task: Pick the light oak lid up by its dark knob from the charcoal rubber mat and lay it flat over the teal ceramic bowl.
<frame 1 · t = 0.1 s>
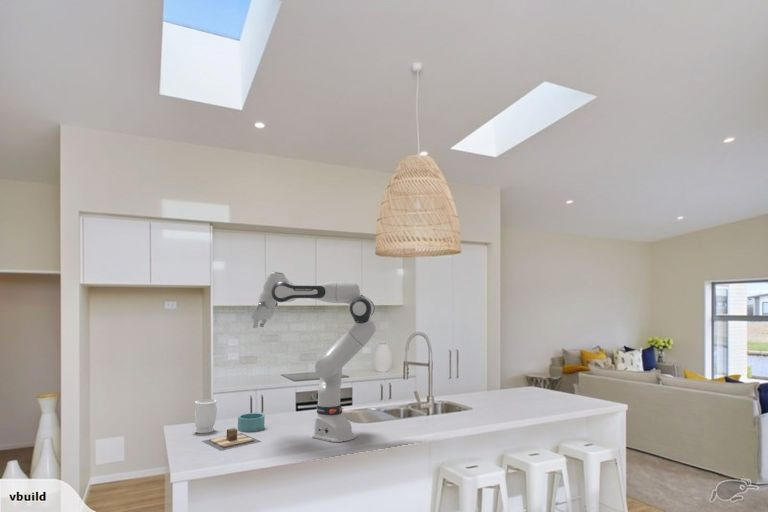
hand: (258, 327, 246), 52 cm above the counter, tool tilted 20°, fingers open, 8 cm apart
bowl: (251, 429, 247), on the counter
mat: (231, 442, 224), on the counter
lid: (231, 441, 224), resting on mat
jar: (204, 431, 242), on the counter
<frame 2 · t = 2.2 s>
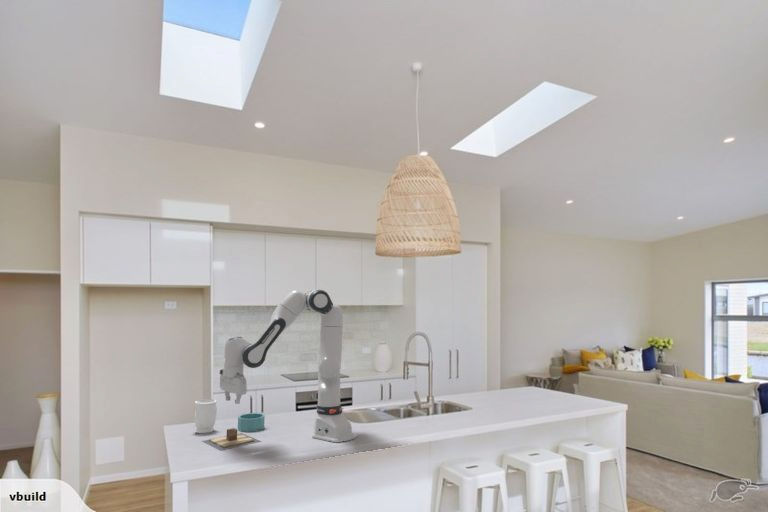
hand: (232, 402, 225), 18 cm above the counter, tool pointing down, fingers open, 8 cm apart
nothing on the counter moved.
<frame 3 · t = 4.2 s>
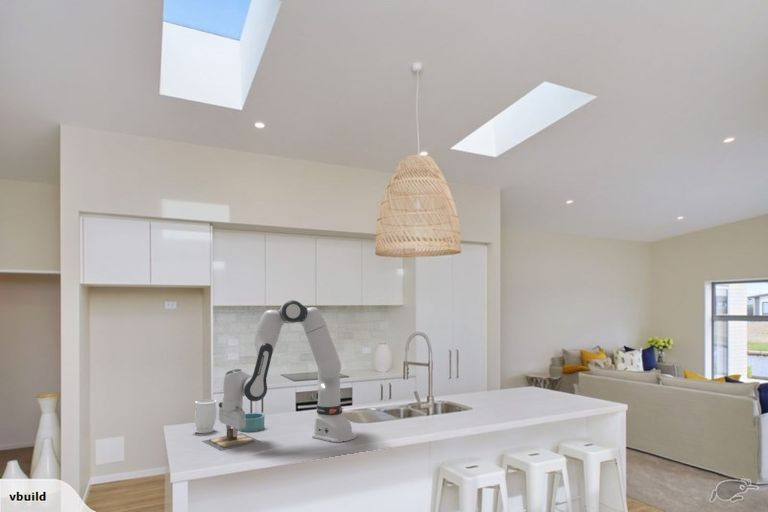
hand: (231, 435, 224), 3 cm above the counter, tool pointing down, fingers closed on lid, 3 cm apart
lid: (231, 441, 224), resting on mat, touching gripper
everything else where it was.
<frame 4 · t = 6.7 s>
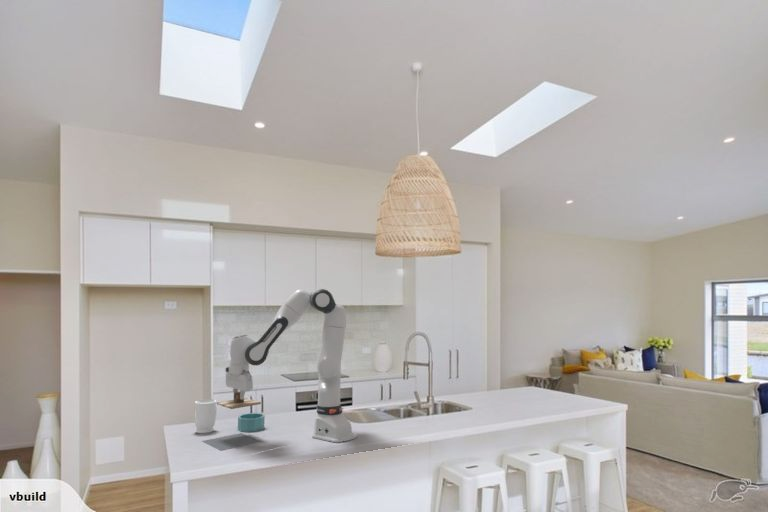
hand: (238, 398, 231), 19 cm above the counter, tool pointing down, fingers closed on lid, 3 cm apart
lid: (238, 404, 231), point 16 cm above the counter, touching gripper
everything else where it was.
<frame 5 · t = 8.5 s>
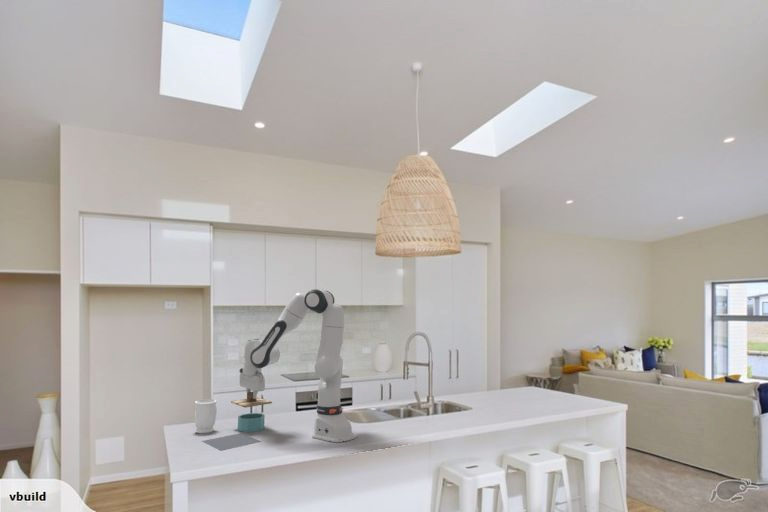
hand: (251, 397, 248), 16 cm above the counter, tool pointing down, fingers closed on lid, 3 cm apart
lid: (251, 403, 248), point 13 cm above the counter, touching gripper
everything else where it was.
when the fingers open (11 cm above the counter, at t = 9.6 s): lid drops 1 cm, resting on bowl.
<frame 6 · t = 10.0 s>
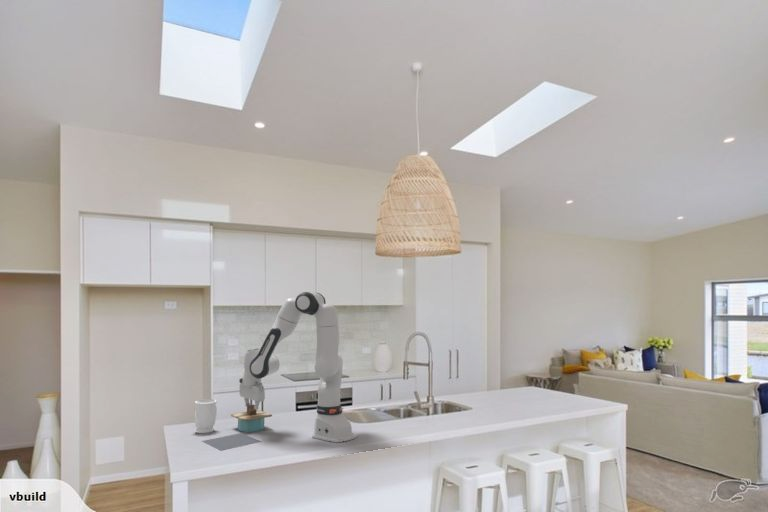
hand: (251, 407, 248), 11 cm above the counter, tool pointing down, fingers open, 7 cm apart
lid: (251, 416, 247), point 6 cm above the counter, touching bowl
everything else where it was.
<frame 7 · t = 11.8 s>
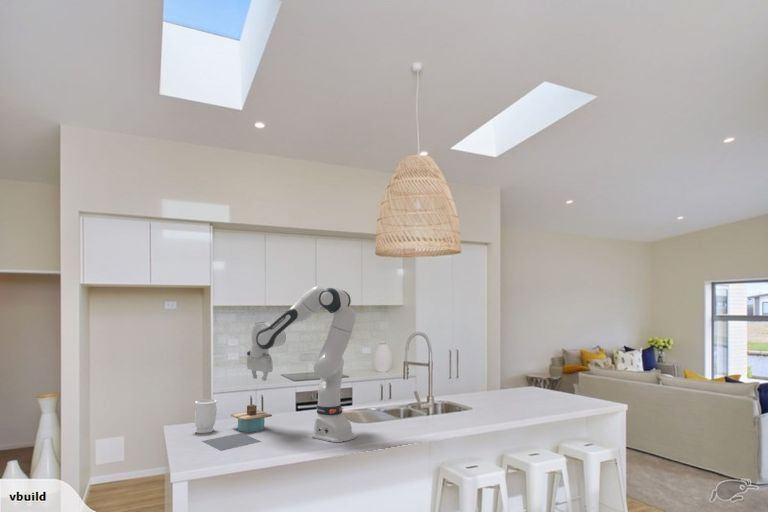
hand: (259, 379, 253), 24 cm above the counter, tool pointing down, fingers open, 8 cm apart
nothing on the counter moved.
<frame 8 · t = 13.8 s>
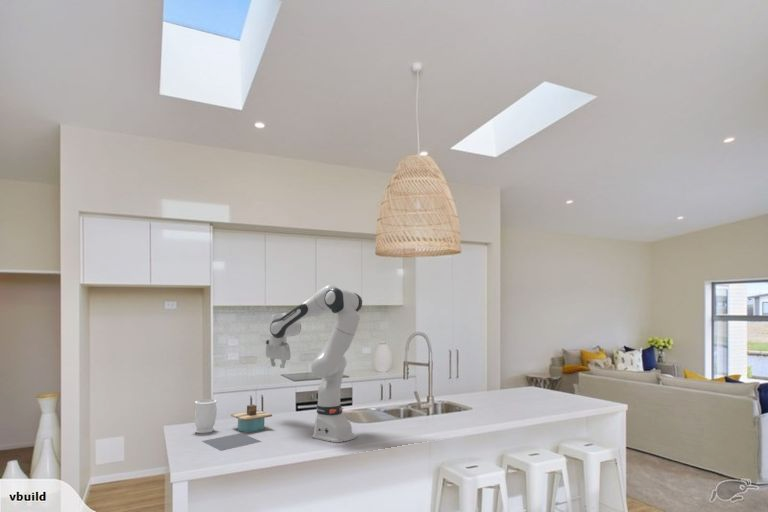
hand: (277, 367, 265), 29 cm above the counter, tool pointing down, fingers open, 8 cm apart
nothing on the counter moved.
at the end: lid 0.0 cm off-centre on the bowl, point 6.5 cm above the bowl's base; lid tilted 0°; the gripper is holding nothing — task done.
